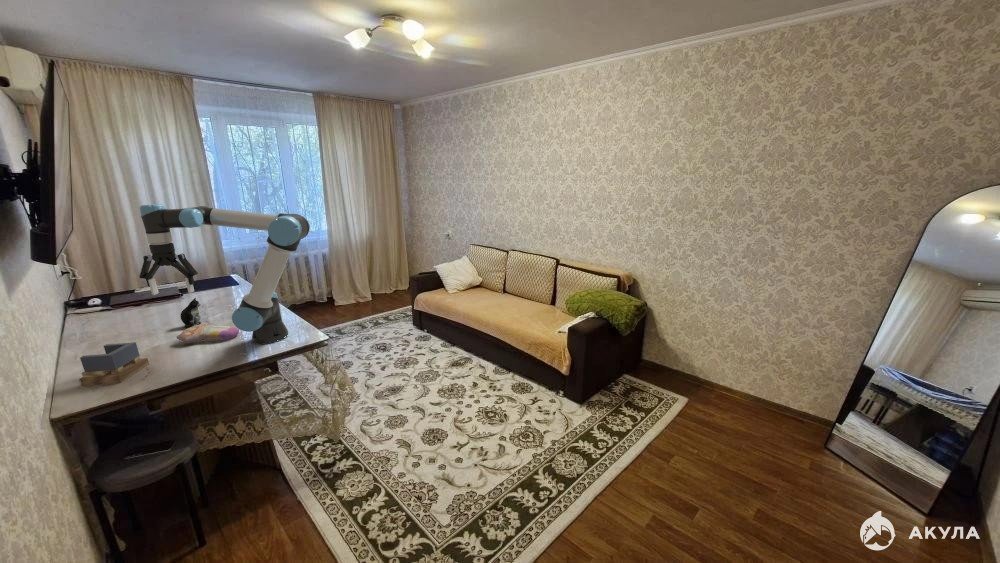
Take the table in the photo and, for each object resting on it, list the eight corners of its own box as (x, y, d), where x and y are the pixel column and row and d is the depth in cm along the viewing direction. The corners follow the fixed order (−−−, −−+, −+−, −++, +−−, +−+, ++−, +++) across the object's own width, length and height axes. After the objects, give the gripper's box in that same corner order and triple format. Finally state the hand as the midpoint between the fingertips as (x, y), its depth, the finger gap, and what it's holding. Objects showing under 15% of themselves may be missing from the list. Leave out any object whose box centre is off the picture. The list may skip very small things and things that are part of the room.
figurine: (202, 328, 198) (195, 301, 194) (178, 331, 194) (171, 303, 190) (207, 322, 206) (201, 296, 202) (185, 325, 203) (179, 298, 199)
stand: (149, 364, 159) (146, 353, 158) (120, 382, 145) (117, 371, 143) (114, 367, 157) (110, 356, 156) (81, 386, 143) (77, 374, 141)
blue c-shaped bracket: (139, 355, 156) (135, 342, 154) (115, 369, 145) (111, 355, 143) (111, 357, 154) (106, 344, 153) (84, 372, 143) (79, 357, 141)
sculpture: (245, 331, 198) (186, 336, 189) (243, 319, 197) (184, 323, 188) (236, 341, 182) (171, 347, 173) (235, 328, 181) (169, 333, 172)
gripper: (200, 240, 159) (211, 288, 165) (133, 242, 156) (146, 292, 161) (189, 243, 152) (200, 293, 158) (118, 245, 148) (133, 297, 154)
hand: (173, 293), depth 159 cm, fingers open, 13 cm apart
